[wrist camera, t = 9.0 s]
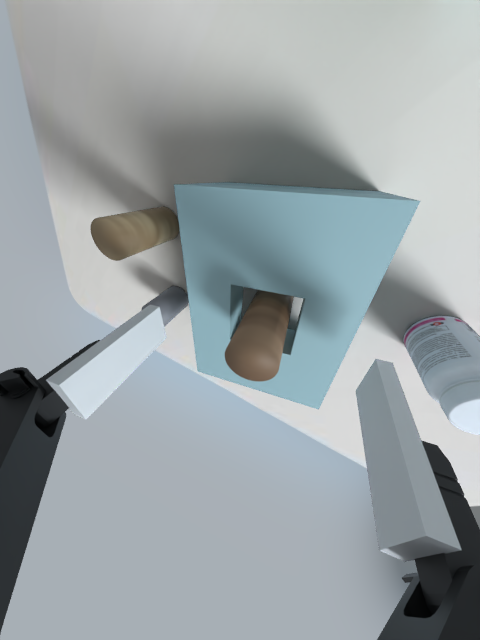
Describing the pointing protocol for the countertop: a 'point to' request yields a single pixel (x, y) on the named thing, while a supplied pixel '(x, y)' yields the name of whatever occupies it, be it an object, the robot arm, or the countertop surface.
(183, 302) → the charcoal pin
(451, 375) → the pill bottle
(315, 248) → the bridge
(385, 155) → the countertop surface
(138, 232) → the oak pin
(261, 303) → the walnut pin
